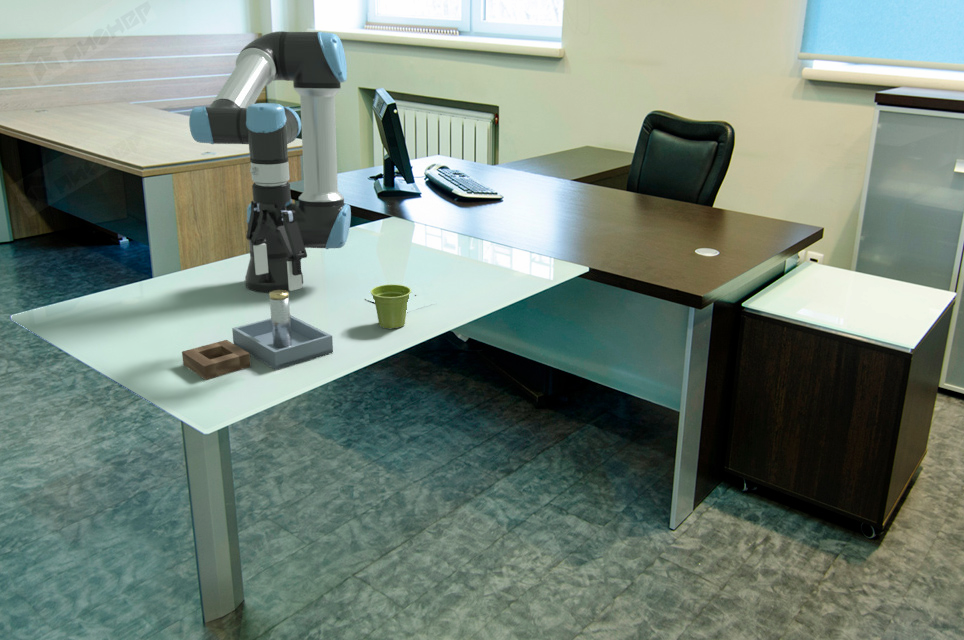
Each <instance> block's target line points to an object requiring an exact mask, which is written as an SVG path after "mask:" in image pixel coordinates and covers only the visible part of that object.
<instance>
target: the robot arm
mask: <svg viewBox="0 0 964 640" xmlns="http://www.w3.org/2000/svg"><path fill="white" fill-rule="evenodd" d="M347 78H348V68H347V59H346V54H345V49H344V45H343V43H342V40H341V39H340V37H339V36H338V35H337V34H336V33H332V32H325V31H323V32H322V31H283V30H281V31H272V32H269V33H265V34H263V35H261V36H260V37H258V38H255V39H254V40H252V41H251V42H250V43H248V44H246V46H245V47H243V48H242V49H241V51H240V52H239V54H238V55H237V58H236V59H235V68H234V70H233V71H232V73H231V74H230V76H229V77H228V79H227V80H226V81H225V82H224V84H223V86H222V88H221V89H220V91H219V92H218V94H217V95H216V97H215V98H214V100H213V101H212V102H211V104H210V105H209V106H205V105H204V106H196V107H193V108H192V110H191V111H190V113H189V118H188V119H189V120H188V122H189V123H188V124H189V125H188V126H189V131H190V134H191V137H192V139H193V140H194V141H195V142H196V143H199V144H211V145H248V151H249V160H250V169H249V172H250V173H251V175H250V176H251V181H252V182H253V183H252V185H251V187H252V198H253V199H252V200H251V201H250V203H249V204H248V206H247V208H246V224H247V231H246V239H247V240H248V245H249V256H250V257H249V261H248V266H247V270H246V274H245V277H244V278H245V279H244V280H245V287H246V288H247V289H248V290H251V291H252V292H253V291H254V292H257V293H258V292H259V293H270V292H271V291H274V290H286V291H288V292H289V291H290V292H292V291H297V290H300V289H302V288H303V284H304V274H303V272H302V259H305V258H308V253H307V249H326V250H329V249H341V248H342V247H344V246H345V245H346V243H347V241H348V240H347V239H348V236H349V232H350V228H351V220H352V219H351V218H352V212H351V210H352V209H351V208H352V207H351V206H350V205H349V204H348V203H345V198H344V196H343V194H342V193H340V191H339V190H338V189H339V188H338V187H339V186H338V157H337V155H338V154H337V128H336V123H337V122H336V121H337V120H336V95H337V94H338V93H339V92H340V91H341V89H342V87H341V84H343V83H345V82H346V81H347ZM274 81H275V82H276V81H286V82H288V81H290V82H293V90H294V91H295V92H296V93H298V95H299V100H300V101H299V102H300V116H299V114H298V113H297V112H296V111H295V110H294V109H292V108H291V107H288V106H283V105H282V104H280V103H272V102H264V103H261V102H259V103H256V102H257V100H258V98H259V96H260V95H261V94H262V92H263V89H265V87H267V86H269V85H270V84H272V82H274ZM300 133H301V143H302V144H301V145H302V167H303V189H304V191H303V192H302V193H301V194H299V196H298V203H293V199H292V196H291V195H292V194H291V184H290V183H289V181H290V166H289V163H290V162H289V155H288V152H289V151H288V144H291V143H292V142H294V141H295V140H296V139H297V137H298V136H299V135H300Z"/></svg>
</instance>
